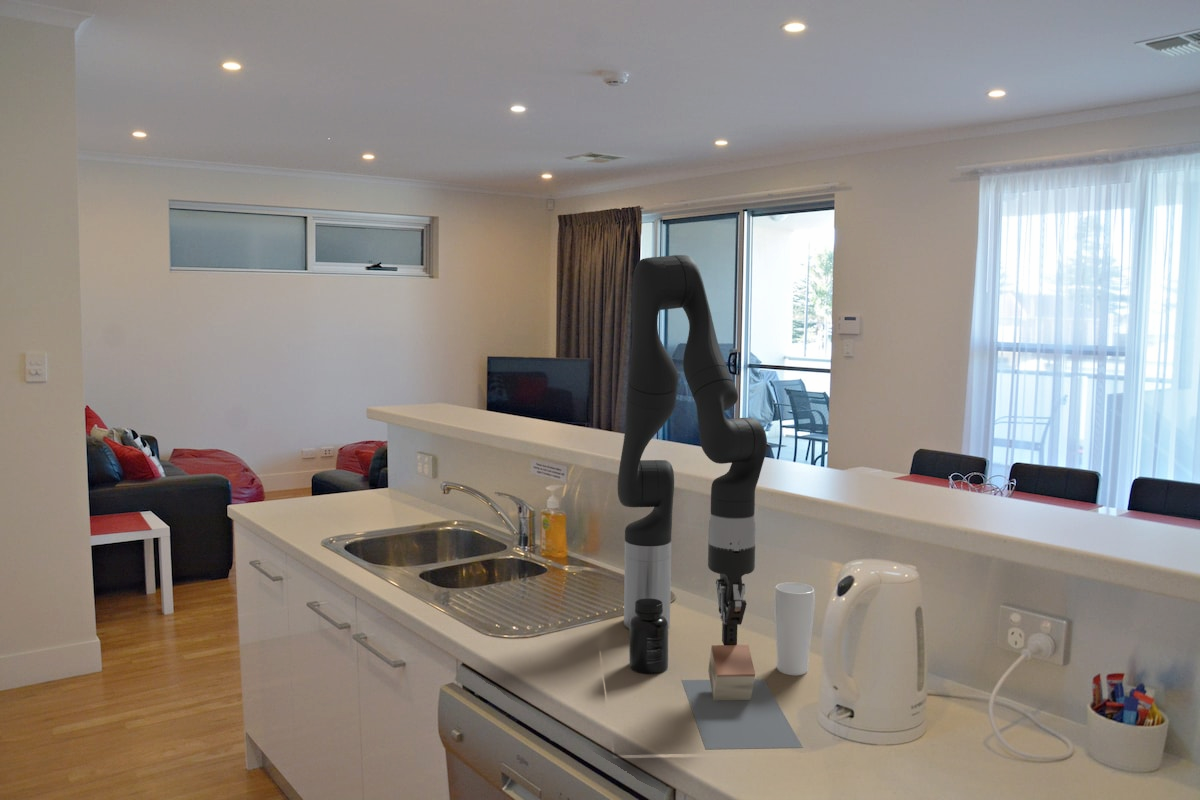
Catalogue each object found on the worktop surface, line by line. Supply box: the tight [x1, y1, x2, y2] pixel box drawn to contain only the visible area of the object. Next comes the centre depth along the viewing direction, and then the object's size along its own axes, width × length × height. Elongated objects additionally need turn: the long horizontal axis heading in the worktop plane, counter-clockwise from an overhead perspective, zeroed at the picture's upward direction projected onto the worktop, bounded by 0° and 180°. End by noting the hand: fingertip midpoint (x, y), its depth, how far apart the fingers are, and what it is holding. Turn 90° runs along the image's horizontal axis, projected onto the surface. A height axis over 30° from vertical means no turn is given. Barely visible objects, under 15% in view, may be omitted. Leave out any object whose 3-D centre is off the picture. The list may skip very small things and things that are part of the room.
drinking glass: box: [773, 581, 815, 676], centre depth 154 cm, size 7×7×15 cm
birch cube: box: [707, 644, 756, 700], centre depth 143 cm, size 6×6×6 cm
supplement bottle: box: [628, 598, 669, 675], centre depth 155 cm, size 7×7×12 cm
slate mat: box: [681, 678, 804, 750], centre depth 138 cm, size 24×14×1 cm, turn 3°
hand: (729, 645), depth 145 cm, fingers closed
